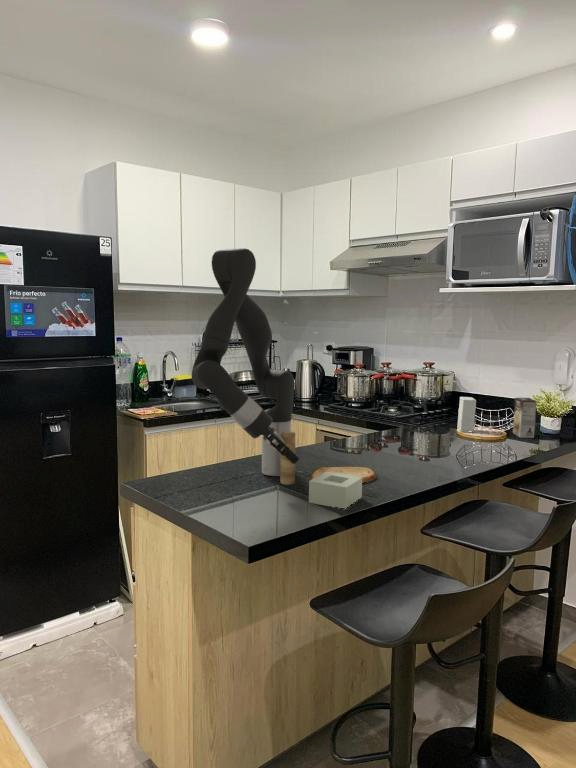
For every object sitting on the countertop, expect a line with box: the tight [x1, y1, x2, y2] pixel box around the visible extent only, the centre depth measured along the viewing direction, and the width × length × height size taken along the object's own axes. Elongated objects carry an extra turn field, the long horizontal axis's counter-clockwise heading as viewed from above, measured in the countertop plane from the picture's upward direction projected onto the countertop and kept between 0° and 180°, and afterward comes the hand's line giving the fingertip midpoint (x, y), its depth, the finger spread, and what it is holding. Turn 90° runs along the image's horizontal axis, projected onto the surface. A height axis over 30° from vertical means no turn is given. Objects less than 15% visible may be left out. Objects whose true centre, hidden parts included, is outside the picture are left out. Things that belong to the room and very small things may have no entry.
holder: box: [308, 472, 363, 510], centre depth 159 cm, size 11×11×6 cm
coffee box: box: [512, 397, 537, 439], centre depth 249 cm, size 9×6×16 cm
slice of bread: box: [310, 466, 377, 484], centre depth 180 cm, size 18×18×4 cm
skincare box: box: [456, 396, 477, 433], centre depth 258 cm, size 8×6×15 cm
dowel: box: [279, 430, 296, 486], centre depth 159 cm, size 4×4×14 cm
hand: (294, 458), depth 159 cm, fingers closed on dowel, 4 cm apart
